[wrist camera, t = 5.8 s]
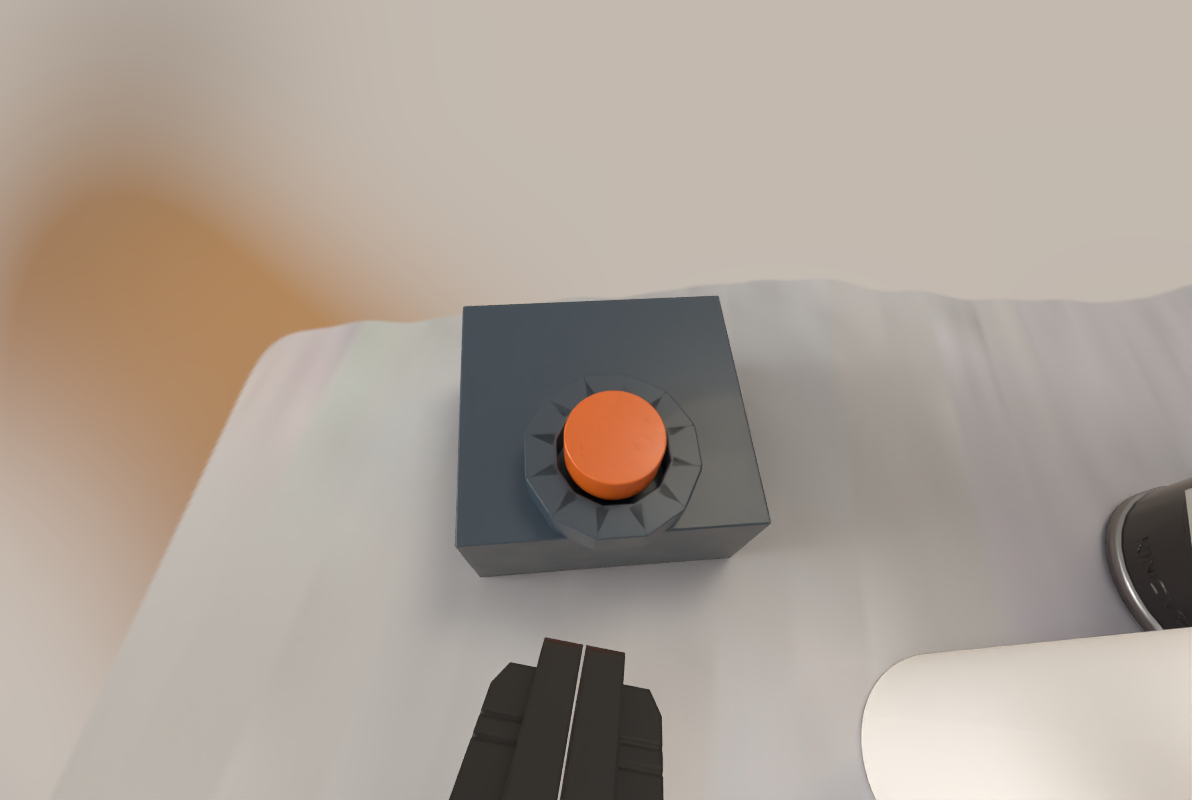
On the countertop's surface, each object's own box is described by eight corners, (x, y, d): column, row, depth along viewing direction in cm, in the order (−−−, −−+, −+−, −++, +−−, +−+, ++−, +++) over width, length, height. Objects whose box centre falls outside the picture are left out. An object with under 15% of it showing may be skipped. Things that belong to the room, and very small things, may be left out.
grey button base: (693, 363, 32) (728, 269, 25) (732, 569, 26) (791, 525, 19) (481, 373, 31) (455, 280, 24) (479, 589, 26) (443, 551, 18)
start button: (653, 408, 22) (659, 387, 20) (666, 497, 20) (674, 480, 19) (561, 413, 21) (560, 392, 20) (567, 503, 20) (566, 488, 18)
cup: (1057, 933, 21) (2107, 1461, 7) (842, 823, 22) (1331, 1066, 8) (1065, 705, 24) (1756, 726, 10) (880, 622, 26) (1262, 538, 11)
